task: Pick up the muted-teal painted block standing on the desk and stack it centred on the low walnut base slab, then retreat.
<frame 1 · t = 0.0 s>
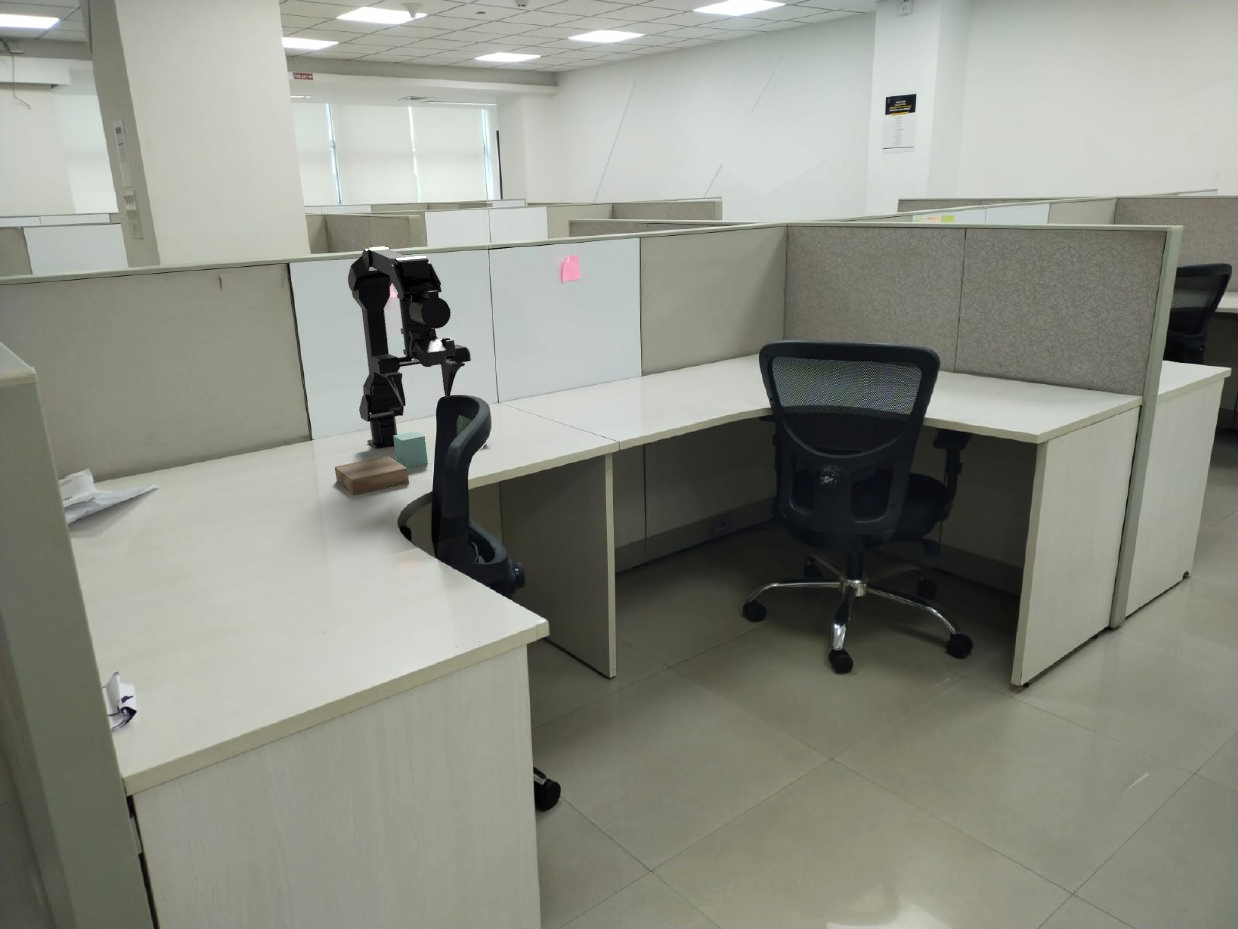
hand: (425, 401, 175), 15 cm above the table, fingers open, 9 cm apart
teal block: (412, 463, 186), on the table
walnut base: (372, 481, 175), on the table
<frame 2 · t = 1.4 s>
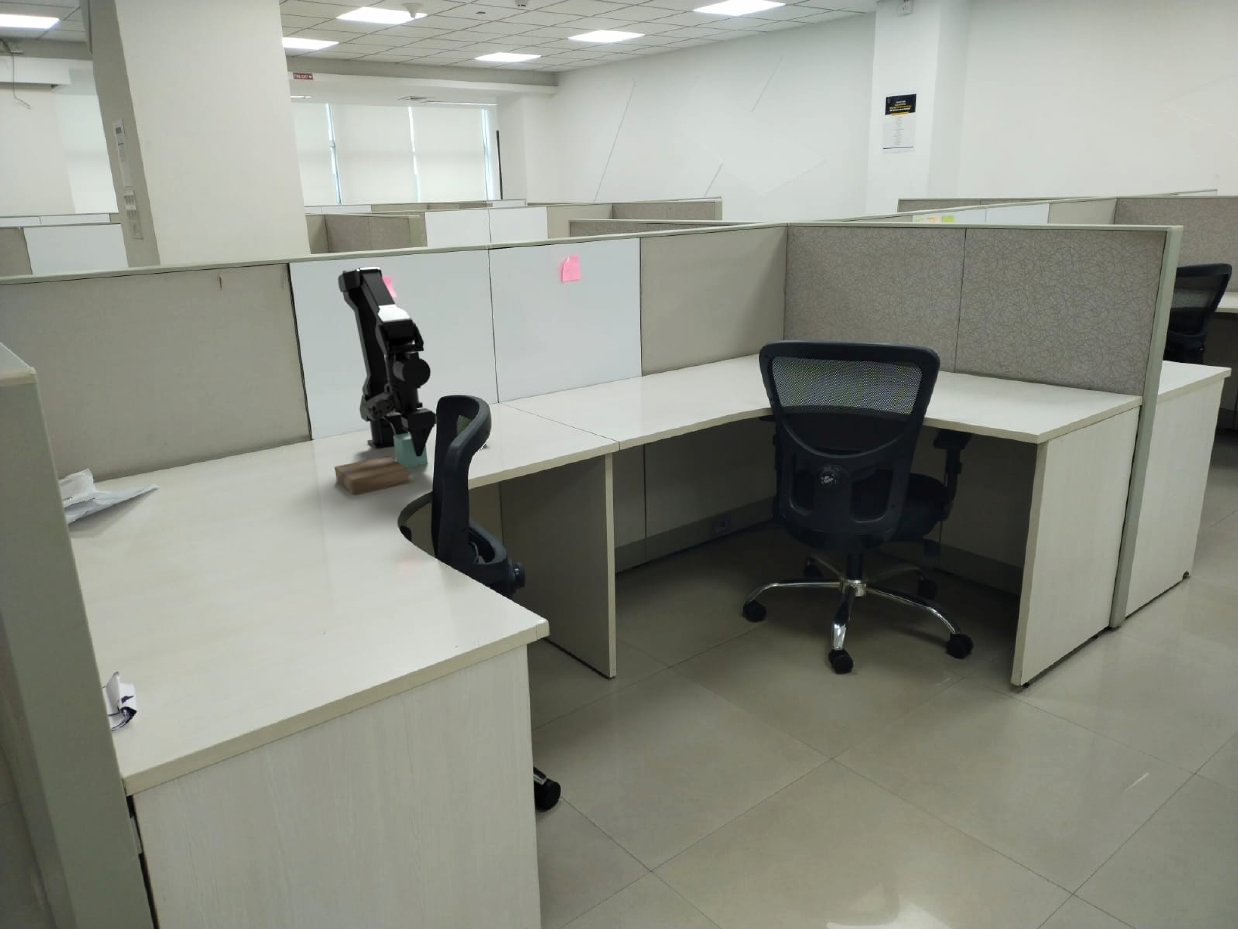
hand: (410, 451, 185), 2 cm above the table, fingers open, 9 cm apart
nothing on the table moved.
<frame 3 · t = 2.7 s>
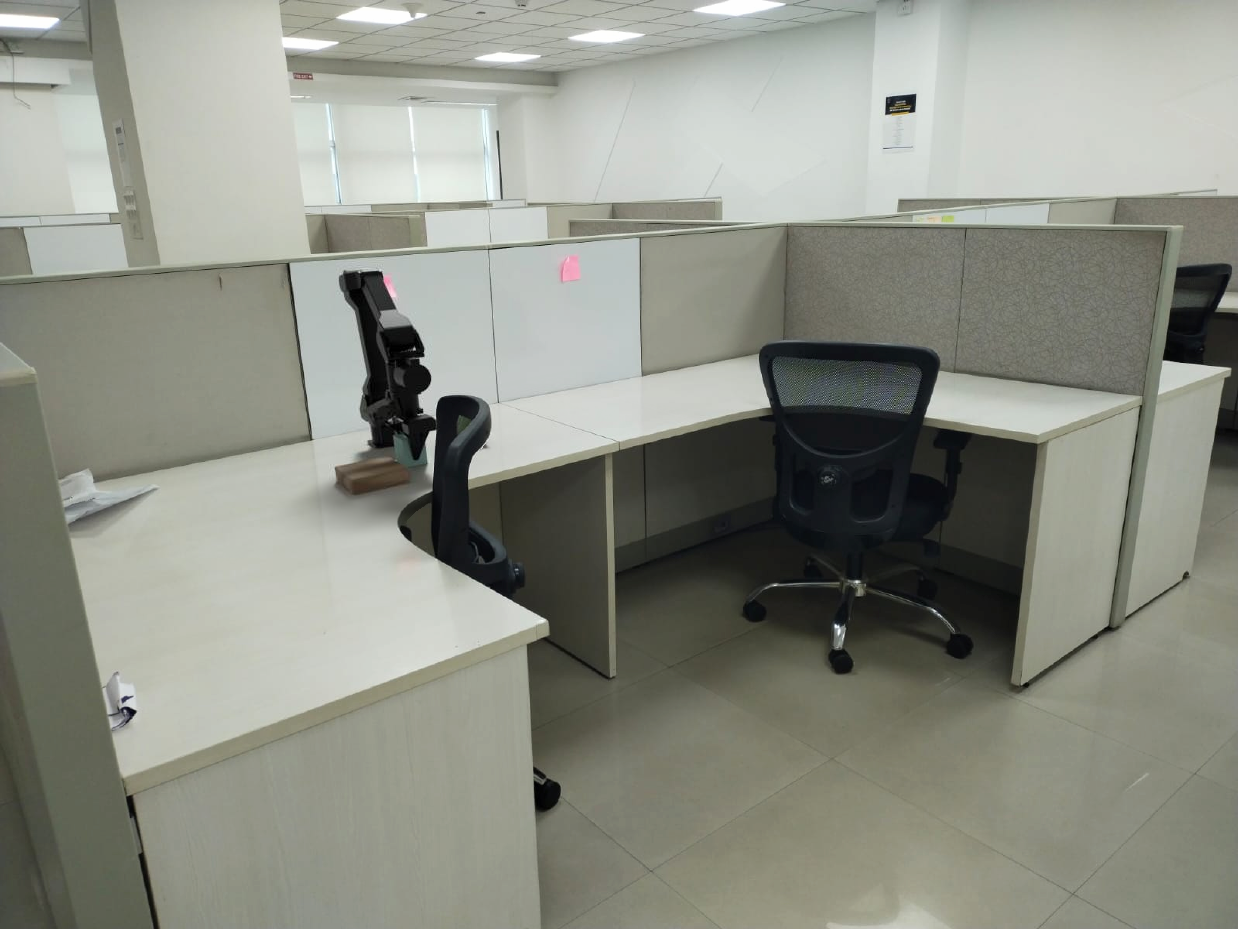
hand: (411, 457, 186), 1 cm above the table, fingers closed on teal block, 5 cm apart
teal block: (412, 462, 186), on the table, touching gripper
everything else where it was.
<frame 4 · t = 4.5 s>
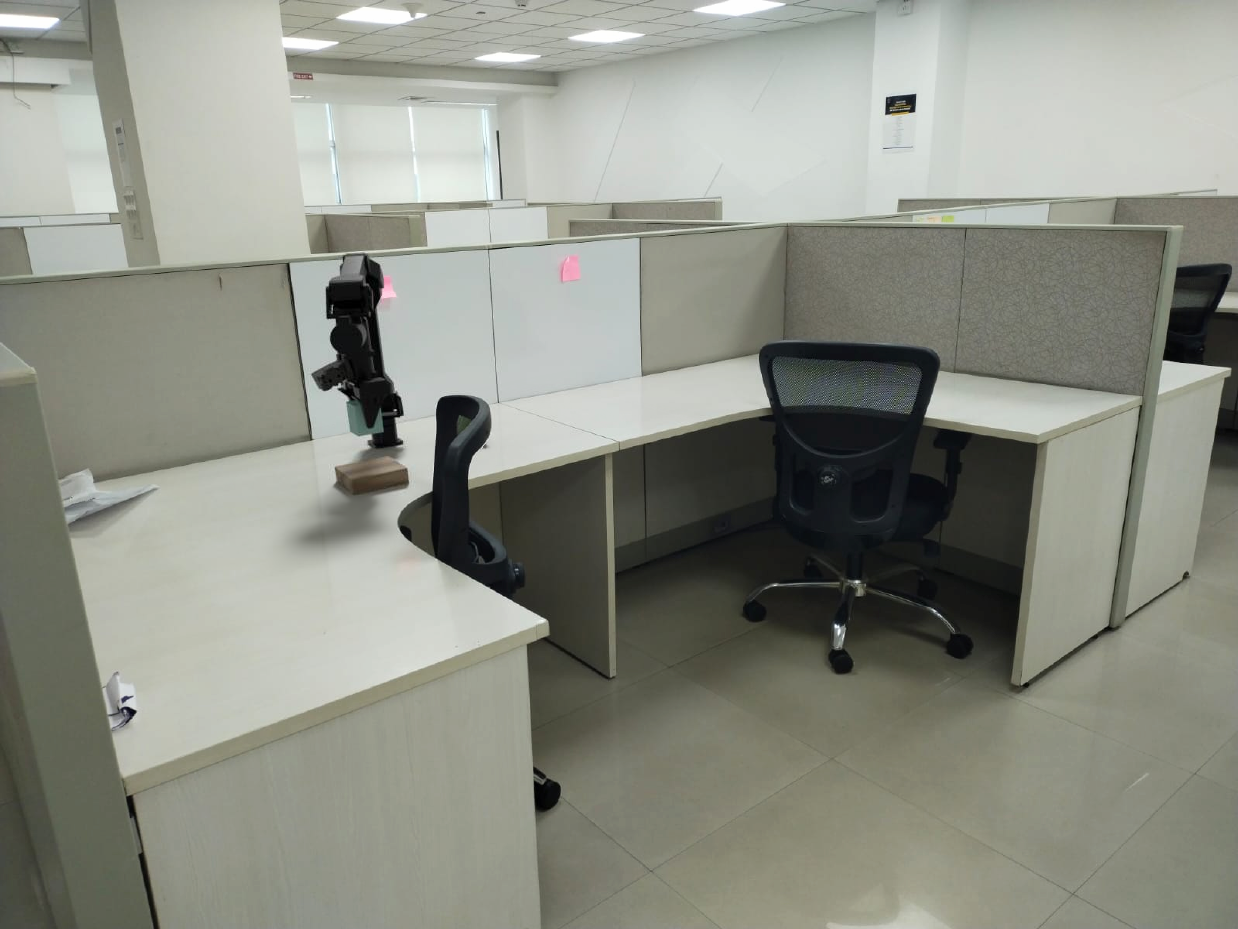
hand: (365, 425, 171), 12 cm above the table, fingers closed on teal block, 5 cm apart
teal block: (366, 431, 172), point 10 cm above the table, touching gripper
everything else where it was.
when the fingers open (5 cm above the table, at t = 6.3 s): teal block drops 1 cm, resting on walnut base.
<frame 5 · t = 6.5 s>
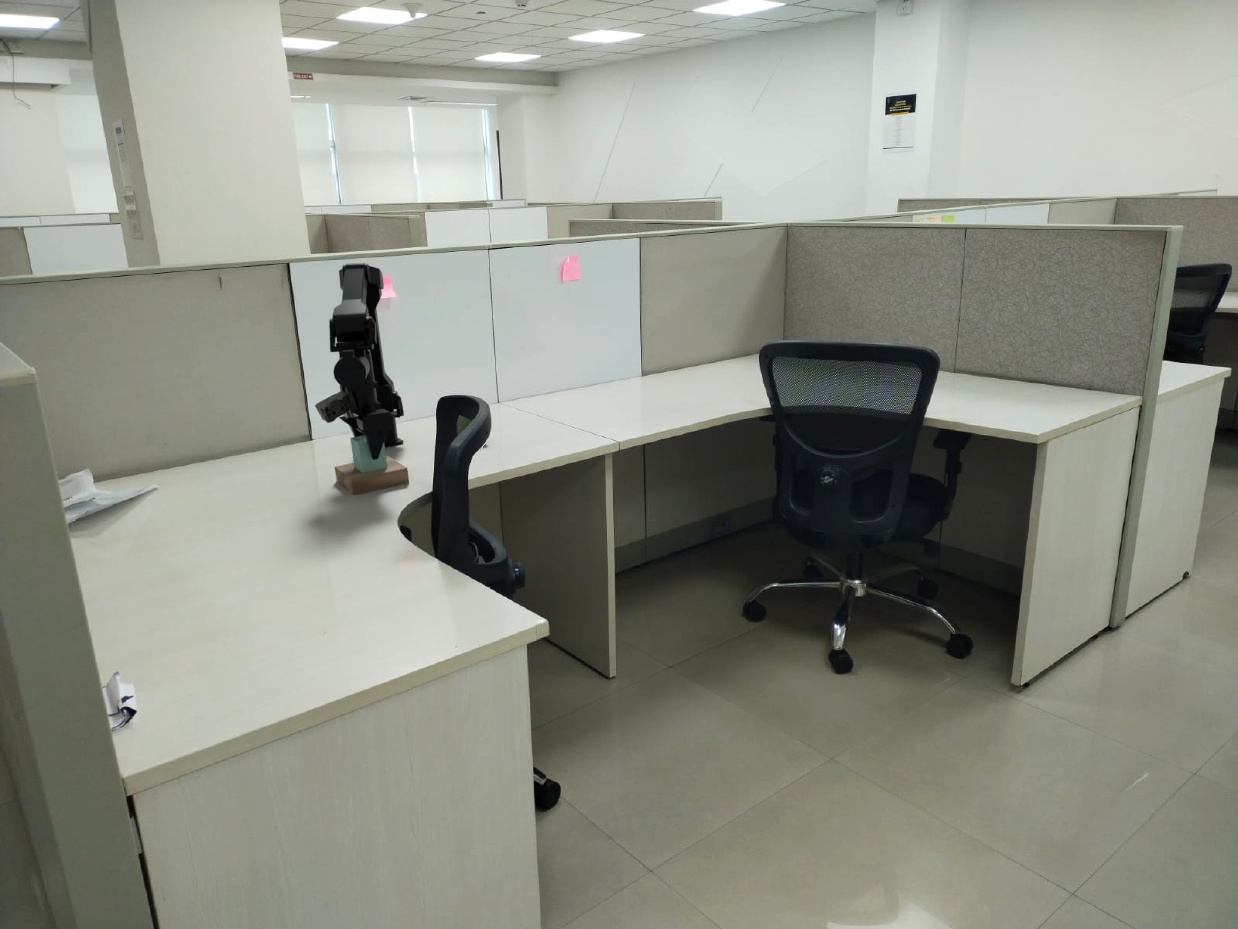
hand: (369, 455, 173), 5 cm above the table, fingers open, 7 cm apart
teal block: (370, 467, 174), point 3 cm above the table, touching walnut base
everything else where it was.
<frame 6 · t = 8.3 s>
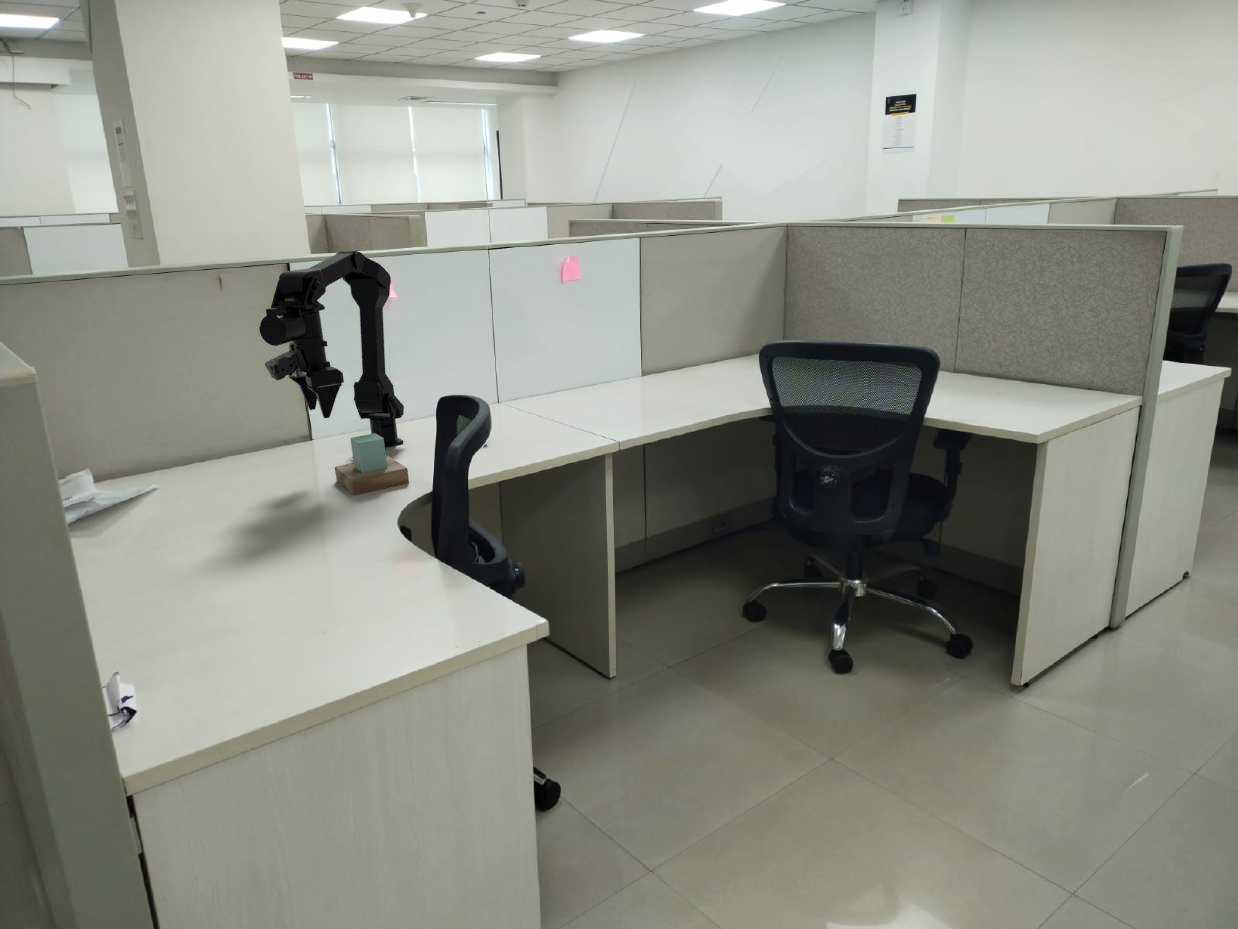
hand: (319, 413, 177), 13 cm above the table, fingers open, 9 cm apart
nothing on the table moved.
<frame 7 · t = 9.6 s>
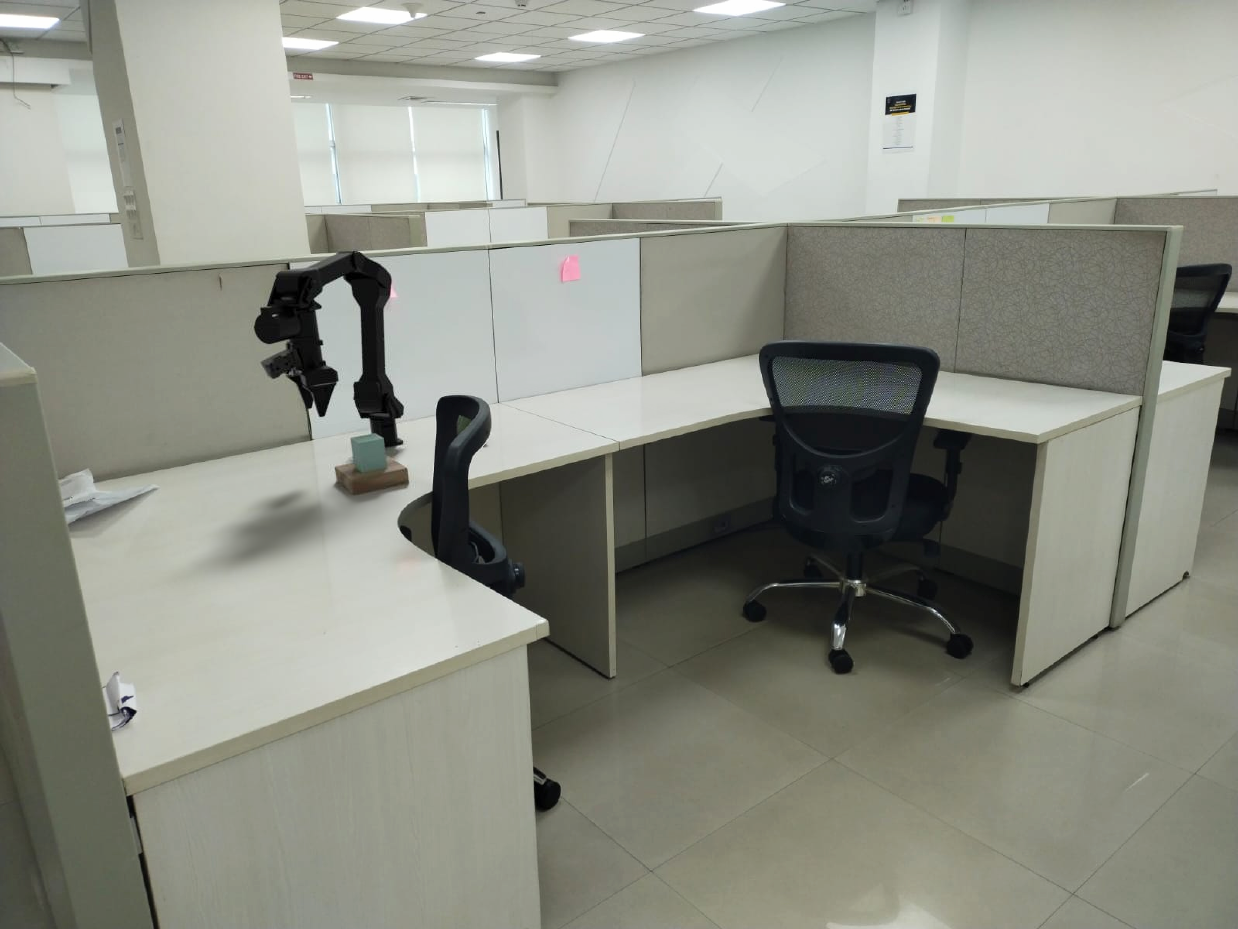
hand: (315, 412, 177), 13 cm above the table, fingers open, 9 cm apart
at the end: teal block inside the target area on the walnut base (0.1 cm from its centre), point 3.0 cm above the walnut base's base; teal block tilted 0°; the gripper is holding nothing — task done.
